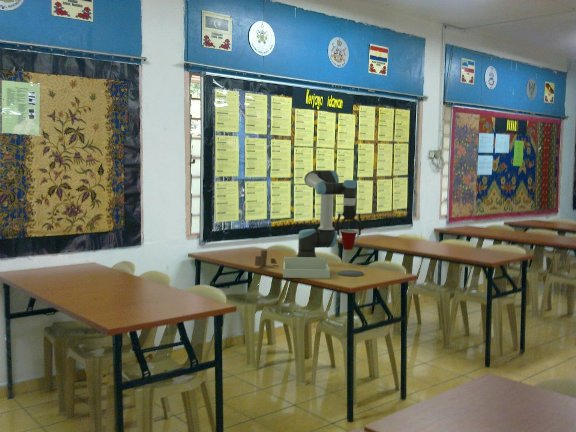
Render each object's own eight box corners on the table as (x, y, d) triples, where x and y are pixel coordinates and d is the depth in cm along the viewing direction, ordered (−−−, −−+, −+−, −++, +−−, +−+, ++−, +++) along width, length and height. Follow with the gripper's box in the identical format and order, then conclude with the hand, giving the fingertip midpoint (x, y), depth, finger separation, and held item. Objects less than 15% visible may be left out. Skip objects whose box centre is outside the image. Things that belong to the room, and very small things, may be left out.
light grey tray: (283, 269, 389) (283, 257, 388) (326, 269, 389) (326, 257, 388) (283, 277, 361) (283, 264, 360) (329, 278, 361) (330, 264, 361)
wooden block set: (260, 269, 389) (261, 253, 388) (249, 266, 394) (251, 251, 393) (276, 265, 404) (278, 250, 403) (266, 263, 409) (267, 248, 408)
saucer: (336, 271, 383) (336, 270, 383) (361, 271, 383) (361, 270, 383) (338, 276, 367) (338, 274, 367) (365, 276, 367) (365, 275, 367)
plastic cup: (352, 251, 366) (353, 231, 365) (336, 249, 372) (337, 230, 371) (360, 249, 376) (360, 229, 375) (344, 247, 381) (344, 228, 380)
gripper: (331, 205, 368) (330, 240, 370) (369, 205, 367) (368, 241, 369) (330, 204, 375) (329, 239, 377) (367, 204, 375) (366, 240, 377)
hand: (348, 240), depth 373 cm, fingers closed on plastic cup, 11 cm apart
